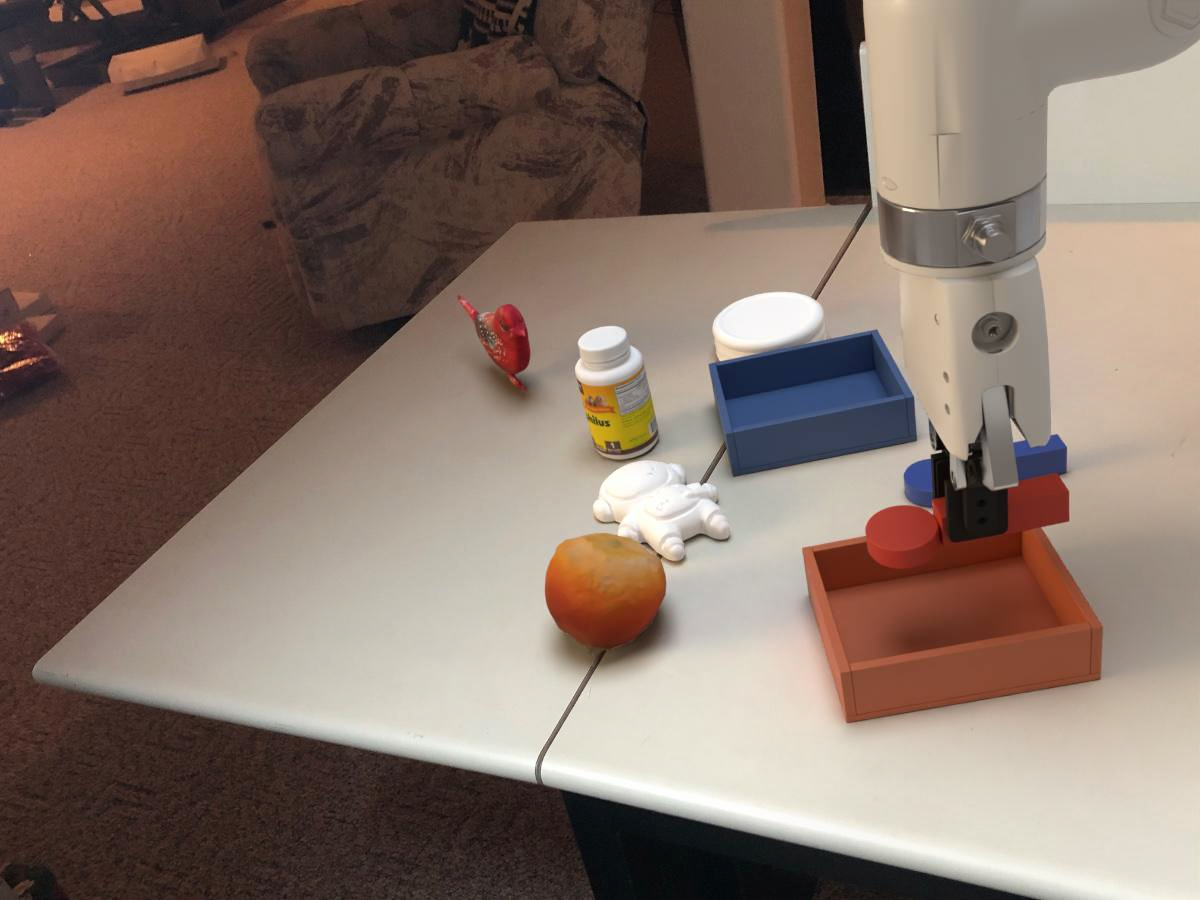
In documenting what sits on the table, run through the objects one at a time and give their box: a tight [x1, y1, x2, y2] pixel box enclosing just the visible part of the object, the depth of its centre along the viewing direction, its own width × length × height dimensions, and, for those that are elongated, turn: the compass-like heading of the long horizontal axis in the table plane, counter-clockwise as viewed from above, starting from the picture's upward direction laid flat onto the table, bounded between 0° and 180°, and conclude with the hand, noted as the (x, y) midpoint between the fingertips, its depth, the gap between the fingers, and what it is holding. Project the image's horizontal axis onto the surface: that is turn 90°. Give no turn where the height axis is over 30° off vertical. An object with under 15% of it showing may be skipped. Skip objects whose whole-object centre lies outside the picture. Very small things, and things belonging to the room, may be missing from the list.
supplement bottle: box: [574, 325, 660, 460], centre depth 88 cm, size 6×6×10 cm
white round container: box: [711, 291, 828, 361], centre depth 98 cm, size 10×10×4 cm
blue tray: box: [708, 328, 918, 477], centre depth 87 cm, size 14×11×4 cm
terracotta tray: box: [801, 527, 1104, 723], centre depth 65 cm, size 14×11×4 cm
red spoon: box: [864, 473, 1070, 569], centre depth 61 cm, size 11×4×2 cm, turn 92°
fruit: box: [544, 532, 667, 669], centre depth 71 cm, size 8×8×8 cm
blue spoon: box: [903, 433, 1068, 508], centre depth 76 cm, size 11×4×2 cm, turn 92°
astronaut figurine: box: [592, 459, 731, 562], centre depth 81 cm, size 9×12×3 cm
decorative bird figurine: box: [456, 294, 531, 393], centre depth 103 cm, size 3×18×10 cm, turn 28°
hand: (969, 519), depth 61 cm, fingers closed on red spoon, 1 cm apart
